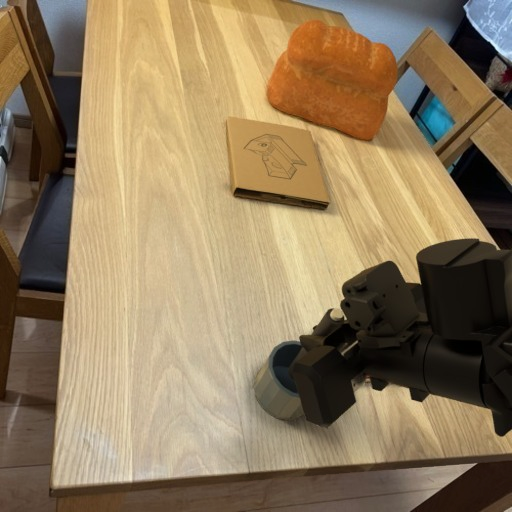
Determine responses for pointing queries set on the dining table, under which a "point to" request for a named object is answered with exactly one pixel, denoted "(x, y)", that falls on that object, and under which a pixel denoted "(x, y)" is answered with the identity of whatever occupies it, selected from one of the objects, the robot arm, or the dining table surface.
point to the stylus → (322, 331)
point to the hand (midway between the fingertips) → (307, 335)
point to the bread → (334, 79)
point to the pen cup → (279, 383)
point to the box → (274, 163)
